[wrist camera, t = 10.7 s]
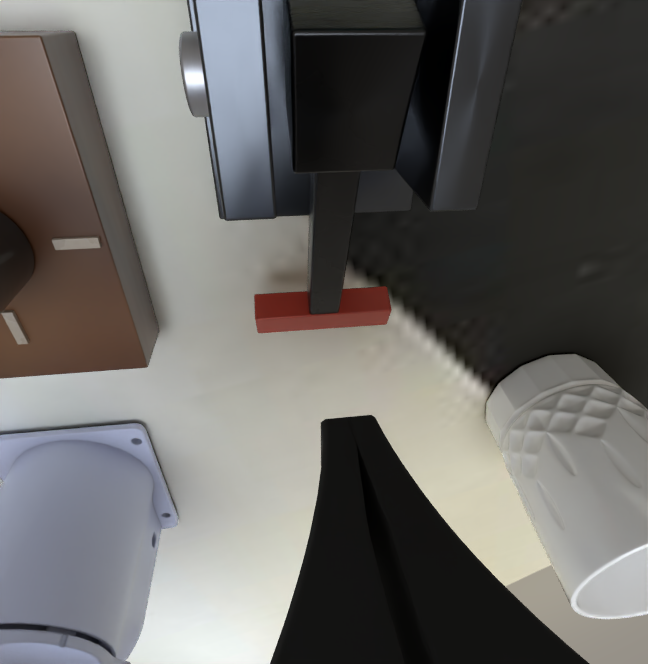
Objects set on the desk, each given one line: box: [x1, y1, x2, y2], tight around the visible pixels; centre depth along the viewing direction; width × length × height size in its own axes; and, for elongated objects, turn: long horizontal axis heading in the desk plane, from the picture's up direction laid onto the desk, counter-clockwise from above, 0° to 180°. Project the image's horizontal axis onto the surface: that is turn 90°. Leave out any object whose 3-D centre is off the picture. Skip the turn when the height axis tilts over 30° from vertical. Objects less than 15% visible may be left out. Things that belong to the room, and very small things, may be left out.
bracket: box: [179, 0, 522, 221], centre depth 10 cm, size 10×7×8 cm
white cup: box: [486, 354, 648, 619], centre depth 21 cm, size 8×8×10 cm
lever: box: [254, 0, 427, 333], centre depth 12 cm, size 11×5×2 cm, turn 179°
